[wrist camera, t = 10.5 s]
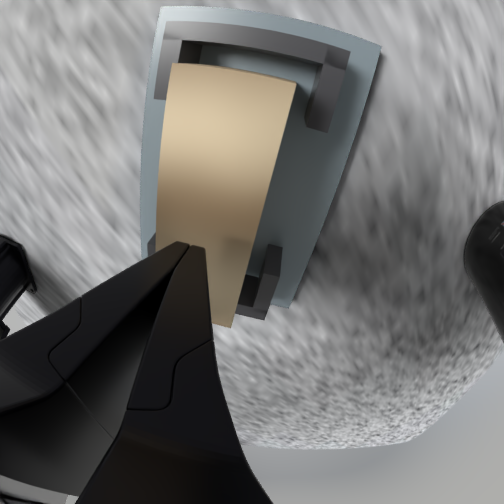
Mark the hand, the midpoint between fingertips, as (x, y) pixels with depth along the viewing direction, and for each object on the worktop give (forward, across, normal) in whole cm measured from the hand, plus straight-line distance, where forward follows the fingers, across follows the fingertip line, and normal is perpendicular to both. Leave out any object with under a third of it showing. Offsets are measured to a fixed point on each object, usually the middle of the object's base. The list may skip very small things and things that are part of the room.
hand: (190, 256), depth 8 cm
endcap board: (+8, 0, 0) cm, 8 cm away
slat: (+7, 0, 0) cm, 7 cm away
